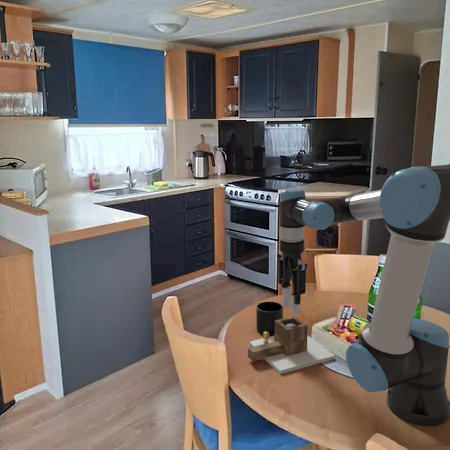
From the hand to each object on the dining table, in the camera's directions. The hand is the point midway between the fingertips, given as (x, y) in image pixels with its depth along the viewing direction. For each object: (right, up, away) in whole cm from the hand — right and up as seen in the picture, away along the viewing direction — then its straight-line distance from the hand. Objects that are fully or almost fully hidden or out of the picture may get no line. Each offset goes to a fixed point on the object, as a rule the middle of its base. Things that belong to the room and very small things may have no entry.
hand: (291, 309), depth 142 cm
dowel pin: (-7, -12, +7) cm, 16 cm away
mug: (-5, -11, +20) cm, 23 cm away
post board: (0, -14, +3) cm, 15 cm away
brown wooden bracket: (-5, -14, +1) cm, 15 cm away
